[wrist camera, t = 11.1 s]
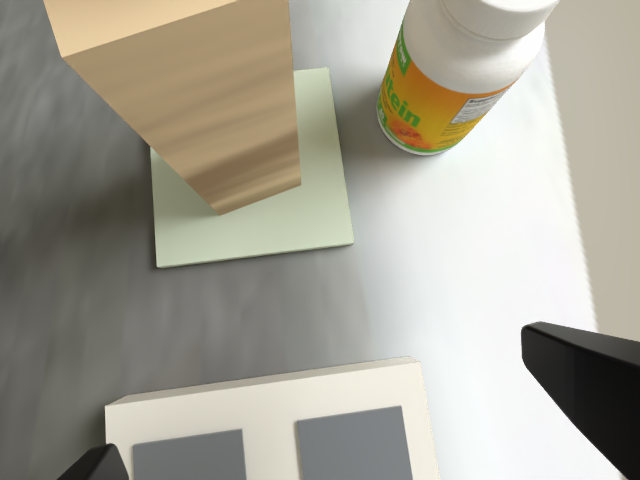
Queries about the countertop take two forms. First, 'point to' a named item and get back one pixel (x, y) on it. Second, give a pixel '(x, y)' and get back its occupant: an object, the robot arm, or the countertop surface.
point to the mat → (268, 214)
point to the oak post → (195, 86)
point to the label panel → (282, 427)
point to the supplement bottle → (455, 67)
